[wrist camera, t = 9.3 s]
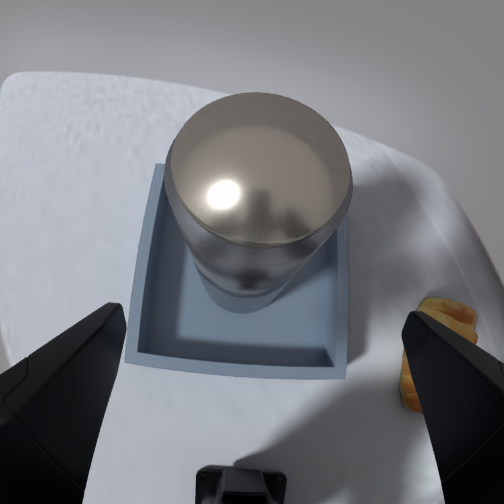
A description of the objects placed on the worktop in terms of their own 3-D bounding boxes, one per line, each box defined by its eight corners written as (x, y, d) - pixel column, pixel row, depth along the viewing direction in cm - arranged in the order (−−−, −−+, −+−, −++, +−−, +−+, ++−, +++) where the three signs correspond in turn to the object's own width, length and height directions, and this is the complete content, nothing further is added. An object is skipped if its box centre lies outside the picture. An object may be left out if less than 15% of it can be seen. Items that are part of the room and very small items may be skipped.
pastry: (438, 416, 21) (464, 423, 17) (378, 402, 21) (401, 410, 17) (465, 316, 23) (492, 311, 20) (411, 293, 24) (436, 284, 20)
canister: (295, 292, 22) (394, 205, 8) (222, 326, 21) (207, 291, 7) (260, 225, 23) (298, 72, 10) (190, 255, 22) (138, 120, 8)
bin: (331, 375, 21) (345, 379, 18) (137, 360, 21) (124, 362, 18) (333, 198, 25) (345, 181, 22) (163, 182, 25) (156, 163, 22)
